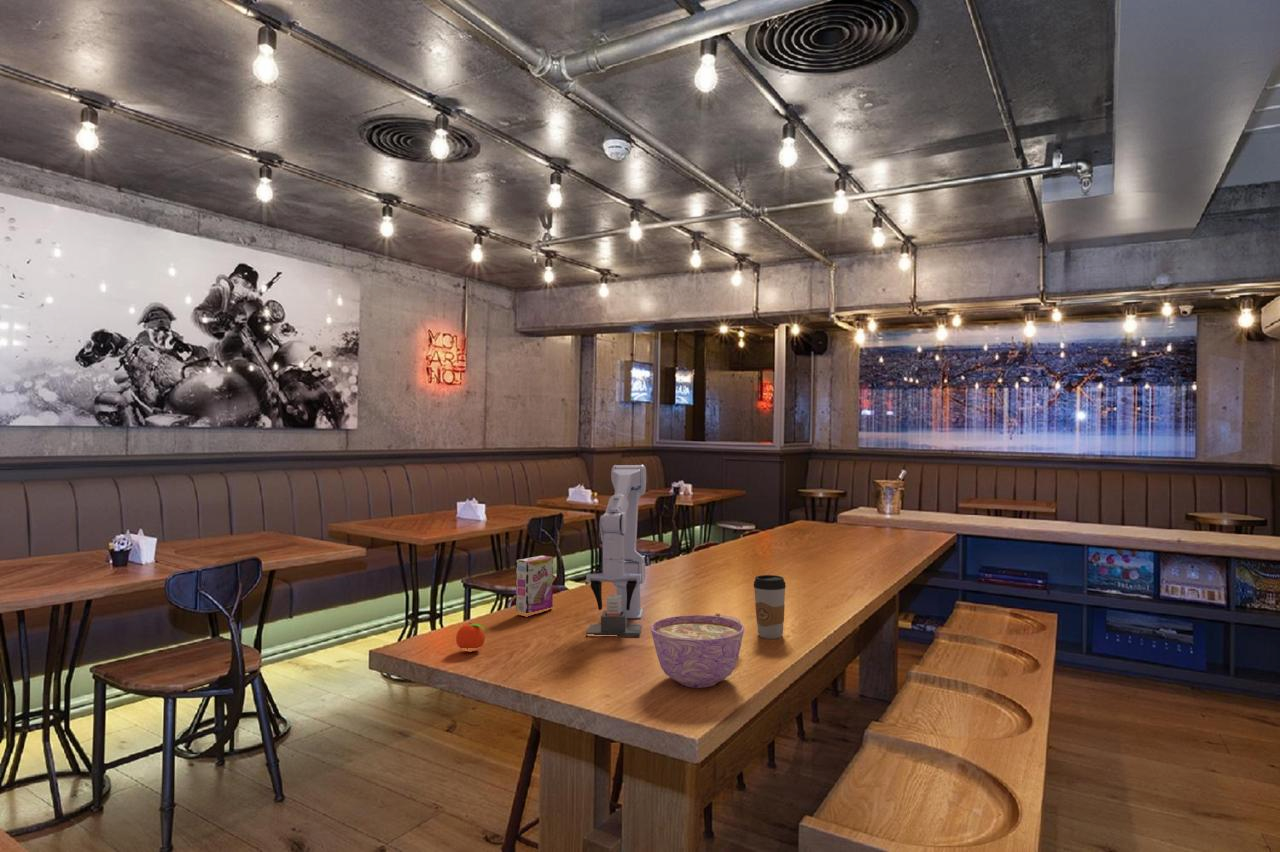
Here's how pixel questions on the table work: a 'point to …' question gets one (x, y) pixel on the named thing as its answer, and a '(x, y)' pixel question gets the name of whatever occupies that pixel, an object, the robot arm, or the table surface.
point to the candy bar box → (534, 584)
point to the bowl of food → (697, 648)
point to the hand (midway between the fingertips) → (614, 609)
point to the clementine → (470, 636)
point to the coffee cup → (769, 605)
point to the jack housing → (615, 626)
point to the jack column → (614, 605)
